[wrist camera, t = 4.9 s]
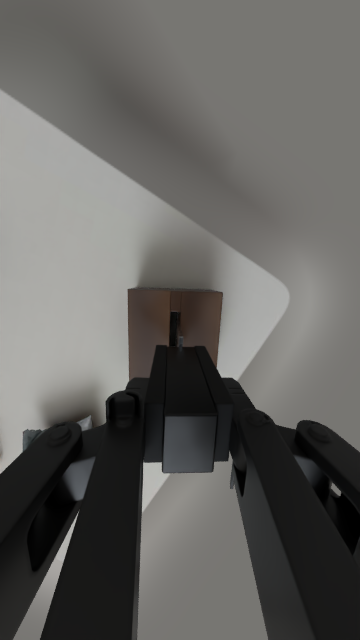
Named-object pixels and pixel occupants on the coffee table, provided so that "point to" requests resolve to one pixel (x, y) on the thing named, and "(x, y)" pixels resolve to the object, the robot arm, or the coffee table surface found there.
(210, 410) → the knife
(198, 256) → the coffee table surface
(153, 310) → the knife block
